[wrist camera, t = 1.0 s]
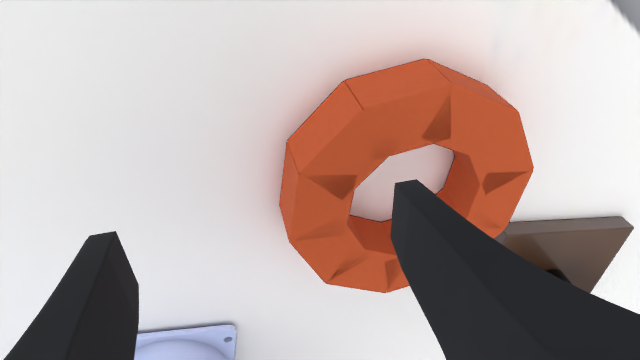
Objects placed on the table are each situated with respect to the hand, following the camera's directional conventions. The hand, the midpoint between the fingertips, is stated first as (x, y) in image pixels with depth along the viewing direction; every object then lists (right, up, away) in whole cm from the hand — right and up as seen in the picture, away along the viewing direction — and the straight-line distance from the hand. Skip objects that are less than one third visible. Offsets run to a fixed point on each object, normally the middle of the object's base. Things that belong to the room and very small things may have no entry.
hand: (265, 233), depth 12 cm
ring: (+5, +2, +13) cm, 14 cm away
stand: (+17, -5, +22) cm, 28 cm away
